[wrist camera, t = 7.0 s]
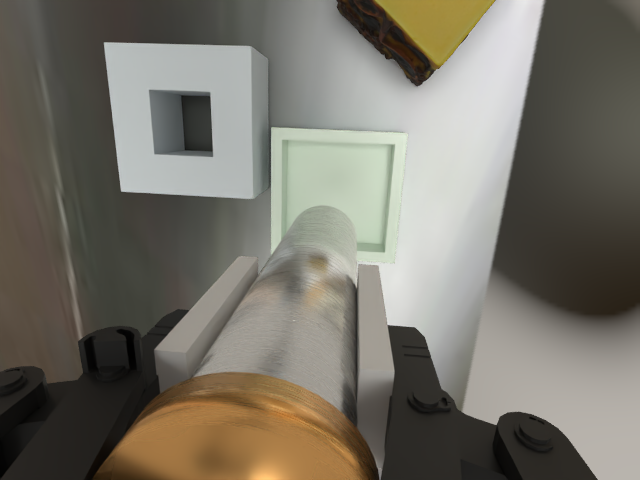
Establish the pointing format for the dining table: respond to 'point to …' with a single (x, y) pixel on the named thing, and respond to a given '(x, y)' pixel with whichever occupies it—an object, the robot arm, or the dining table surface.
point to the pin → (268, 378)
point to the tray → (340, 182)
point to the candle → (415, 29)
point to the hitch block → (167, 120)
